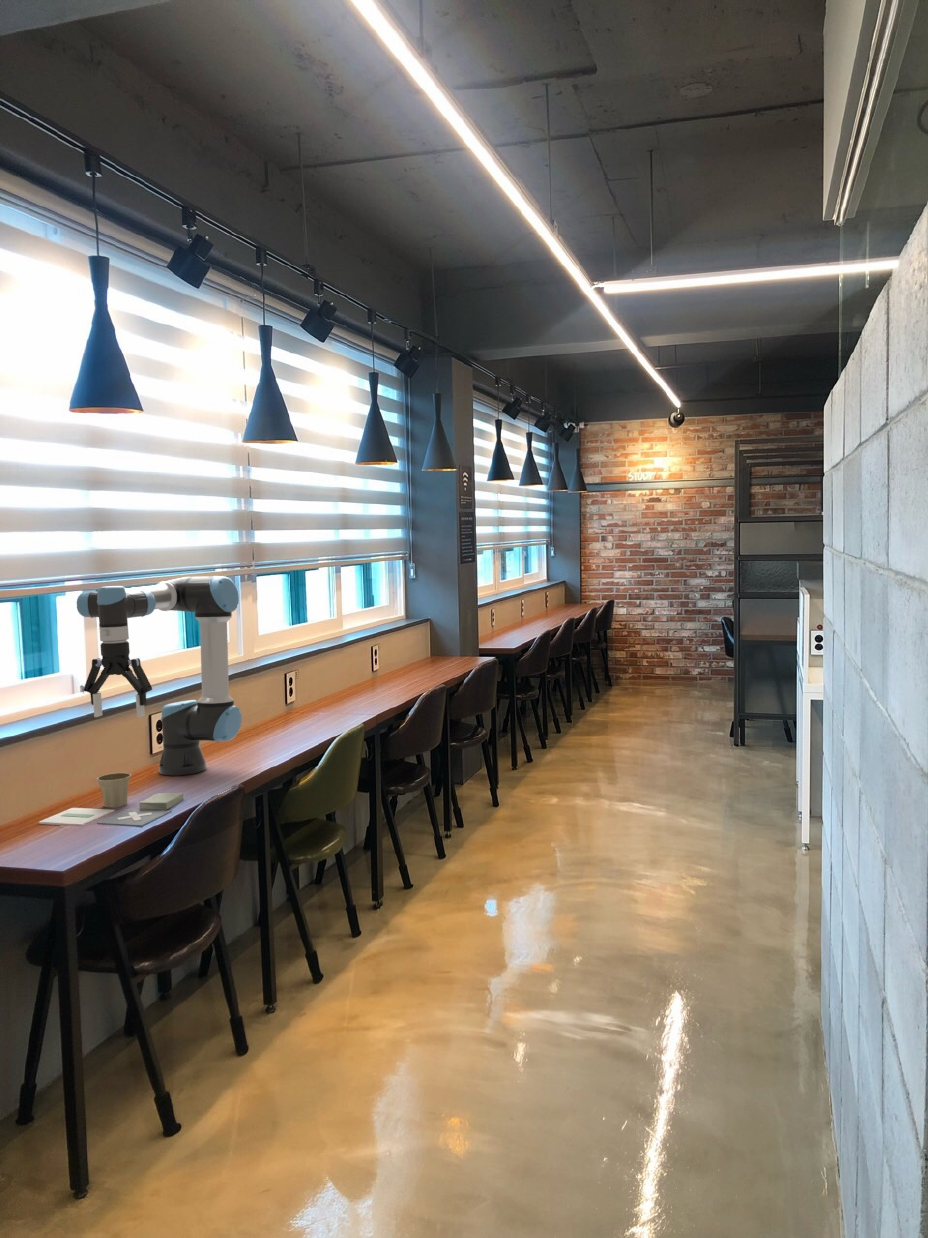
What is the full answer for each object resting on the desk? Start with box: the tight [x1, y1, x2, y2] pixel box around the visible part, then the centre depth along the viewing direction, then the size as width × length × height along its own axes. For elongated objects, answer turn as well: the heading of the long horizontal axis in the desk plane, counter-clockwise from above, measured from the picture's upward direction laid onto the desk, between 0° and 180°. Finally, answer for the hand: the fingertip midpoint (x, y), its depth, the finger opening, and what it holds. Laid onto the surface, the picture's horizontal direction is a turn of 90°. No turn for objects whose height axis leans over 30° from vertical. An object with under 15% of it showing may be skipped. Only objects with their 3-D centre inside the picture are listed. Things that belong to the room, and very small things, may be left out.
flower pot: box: [96, 772, 132, 809], centre depth 276 cm, size 9×9×9 cm
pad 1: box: [38, 807, 116, 827], centre depth 264 cm, size 14×14×1 cm
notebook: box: [138, 792, 184, 810], centre depth 274 cm, size 12×8×2 cm, turn 175°
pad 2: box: [96, 807, 173, 828], centre depth 262 cm, size 14×14×1 cm
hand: (119, 716), depth 267 cm, fingers open, 13 cm apart
